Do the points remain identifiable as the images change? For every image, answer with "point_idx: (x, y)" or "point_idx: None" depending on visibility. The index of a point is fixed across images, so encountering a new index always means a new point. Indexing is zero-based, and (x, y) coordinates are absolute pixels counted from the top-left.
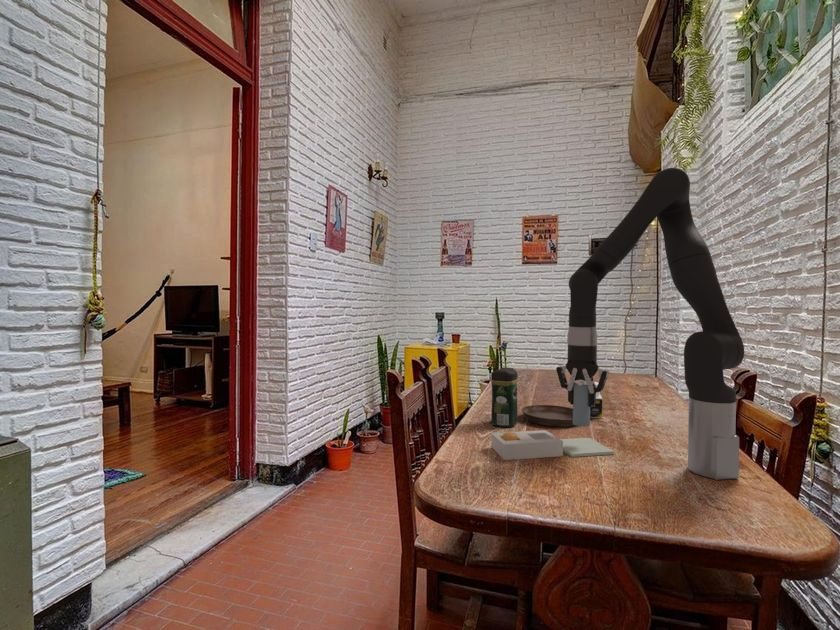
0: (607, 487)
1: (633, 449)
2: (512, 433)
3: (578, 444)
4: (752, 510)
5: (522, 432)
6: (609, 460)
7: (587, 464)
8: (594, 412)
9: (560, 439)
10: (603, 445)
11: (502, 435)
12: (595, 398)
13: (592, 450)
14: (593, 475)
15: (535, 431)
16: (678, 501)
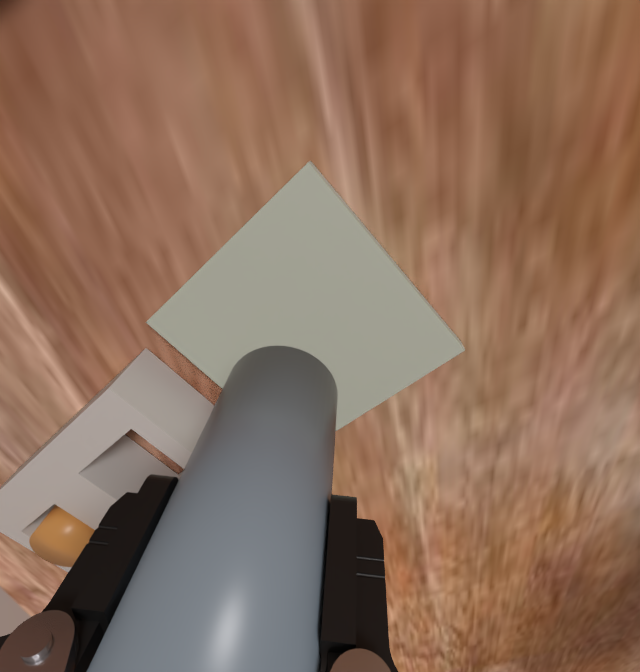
0: (441, 596)
1: (575, 207)
2: (54, 535)
3: (287, 327)
4: None
5: (53, 465)
6: (442, 420)
7: (367, 484)
8: None
9: (181, 290)
10: (408, 282)
11: (25, 524)
12: (383, 594)
13: (366, 382)
14: (398, 549)
15: (85, 428)
16: (617, 609)
